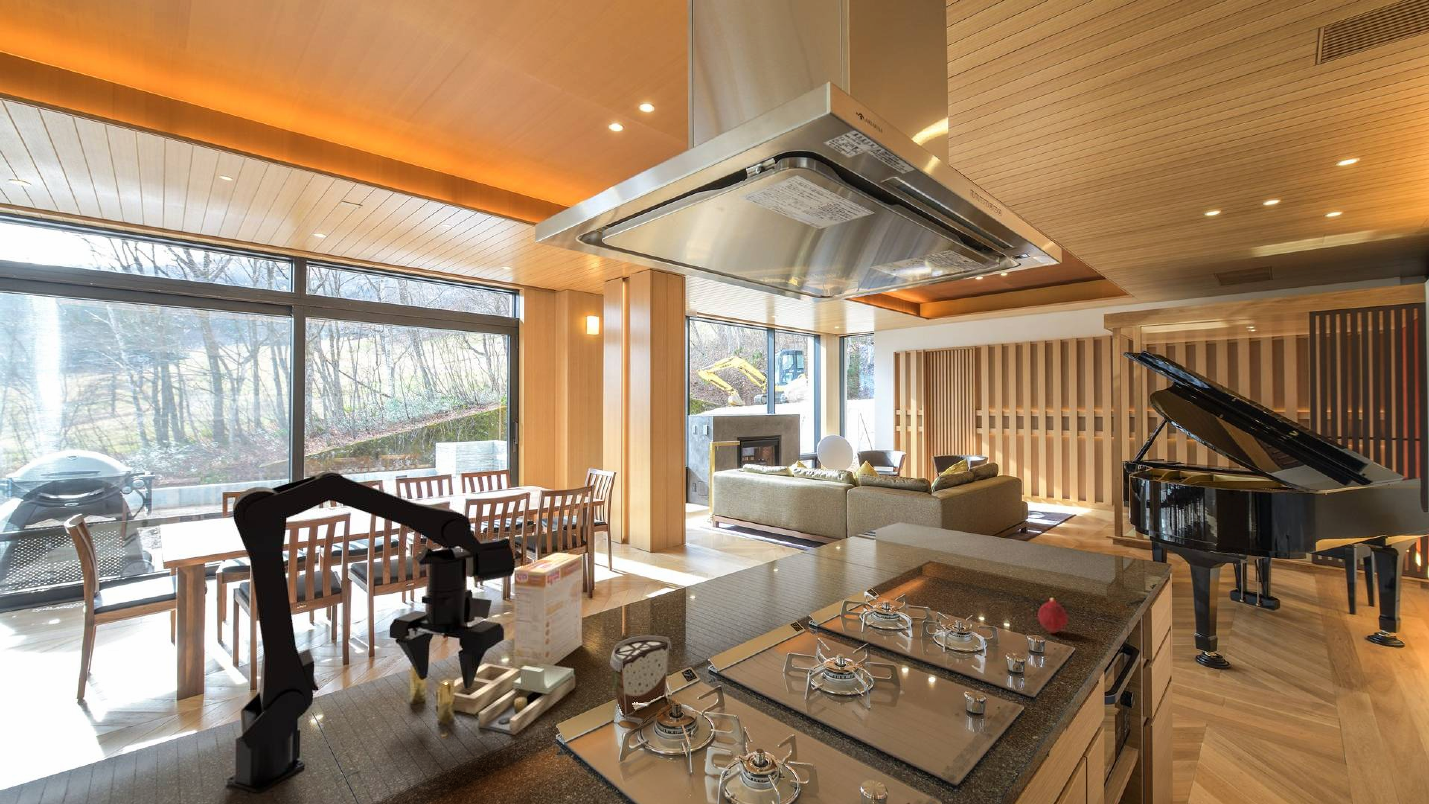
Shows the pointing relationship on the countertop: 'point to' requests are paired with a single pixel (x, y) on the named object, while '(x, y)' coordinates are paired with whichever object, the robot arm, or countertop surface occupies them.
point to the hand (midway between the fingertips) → (445, 683)
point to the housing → (520, 708)
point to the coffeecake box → (547, 610)
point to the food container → (640, 670)
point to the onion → (1052, 616)
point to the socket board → (483, 687)
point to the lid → (542, 678)
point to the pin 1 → (417, 688)
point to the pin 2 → (445, 701)
